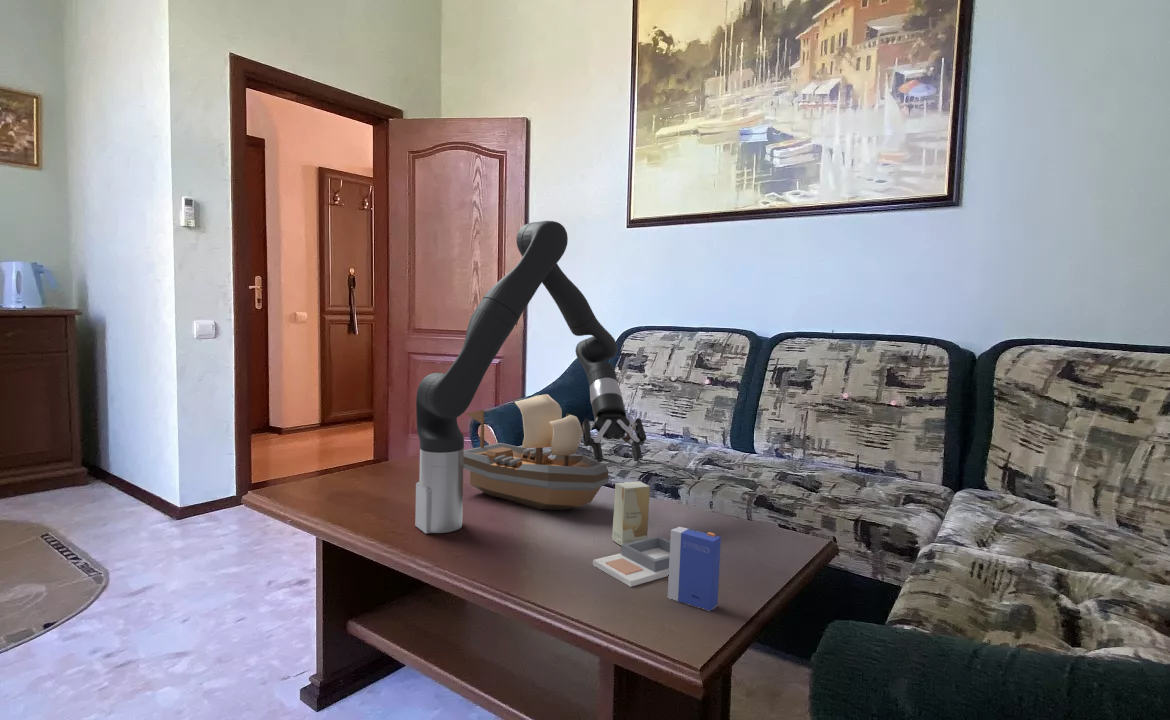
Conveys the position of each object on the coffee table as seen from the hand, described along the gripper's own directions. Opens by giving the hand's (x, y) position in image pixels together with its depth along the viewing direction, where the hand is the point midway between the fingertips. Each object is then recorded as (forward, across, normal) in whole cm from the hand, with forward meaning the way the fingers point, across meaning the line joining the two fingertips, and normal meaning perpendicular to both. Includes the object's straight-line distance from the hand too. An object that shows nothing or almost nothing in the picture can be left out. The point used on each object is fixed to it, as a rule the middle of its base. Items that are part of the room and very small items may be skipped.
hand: (619, 459), depth 140 cm
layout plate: (+27, -1, -6) cm, 27 cm away
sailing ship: (-6, -17, +27) cm, 32 cm away
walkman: (+38, +2, -16) cm, 41 cm away
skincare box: (+18, 0, +4) cm, 18 cm away
